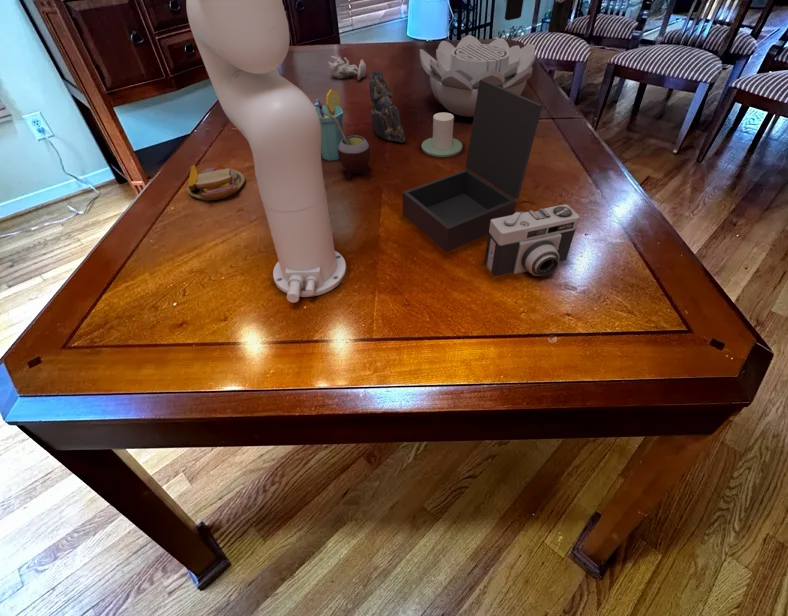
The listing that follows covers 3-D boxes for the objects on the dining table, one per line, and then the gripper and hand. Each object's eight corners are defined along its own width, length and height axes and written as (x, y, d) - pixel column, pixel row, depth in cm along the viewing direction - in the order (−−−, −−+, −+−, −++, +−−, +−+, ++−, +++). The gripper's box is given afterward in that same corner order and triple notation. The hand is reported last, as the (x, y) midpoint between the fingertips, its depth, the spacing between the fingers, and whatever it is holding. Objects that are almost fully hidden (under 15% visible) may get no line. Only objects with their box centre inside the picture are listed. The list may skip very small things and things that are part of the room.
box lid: (539, 105, 71) (542, 104, 71) (479, 79, 79) (483, 79, 80) (515, 199, 82) (518, 198, 82) (465, 167, 91) (468, 166, 91)
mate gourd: (377, 170, 103) (373, 104, 93) (358, 186, 99) (351, 118, 88) (350, 163, 106) (343, 98, 95) (330, 178, 101) (321, 111, 91)
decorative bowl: (554, 121, 119) (568, 59, 109) (454, 142, 112) (459, 78, 102) (495, 84, 139) (502, 29, 129) (407, 100, 132) (407, 43, 122)
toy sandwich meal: (247, 170, 105) (241, 151, 102) (244, 201, 96) (238, 181, 92) (192, 177, 104) (184, 157, 100) (183, 208, 94) (175, 188, 91)
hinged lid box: (446, 255, 81) (447, 228, 77) (402, 217, 90) (402, 191, 86) (511, 227, 86) (516, 200, 82) (464, 194, 95) (466, 168, 91)
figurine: (365, 68, 140) (327, 61, 140) (363, 88, 145) (326, 81, 144) (368, 56, 147) (332, 49, 146) (366, 76, 151) (331, 70, 150)
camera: (503, 294, 73) (512, 245, 66) (482, 263, 79) (489, 215, 72) (578, 276, 76) (596, 227, 69) (553, 248, 81) (566, 200, 74)
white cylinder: (452, 149, 108) (454, 120, 103) (433, 149, 108) (434, 121, 103) (450, 140, 112) (452, 111, 107) (431, 141, 112) (432, 112, 107)
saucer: (464, 156, 107) (464, 154, 106) (422, 157, 107) (422, 155, 107) (459, 137, 114) (459, 135, 114) (420, 139, 114) (420, 137, 114)
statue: (395, 148, 111) (393, 84, 100) (366, 132, 118) (361, 71, 107) (412, 141, 113) (412, 77, 103) (383, 126, 120) (380, 65, 109)
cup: (339, 172, 103) (330, 105, 93) (307, 170, 104) (295, 104, 94) (354, 145, 113) (348, 81, 102) (324, 143, 114) (315, 80, 103)
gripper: (494, -121, 64) (480, 18, 76) (592, -120, 54) (558, 41, 66) (532, -123, 67) (513, 11, 79) (631, -122, 57) (592, 32, 69)
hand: (533, 24), depth 73 cm, fingers open, 9 cm apart
